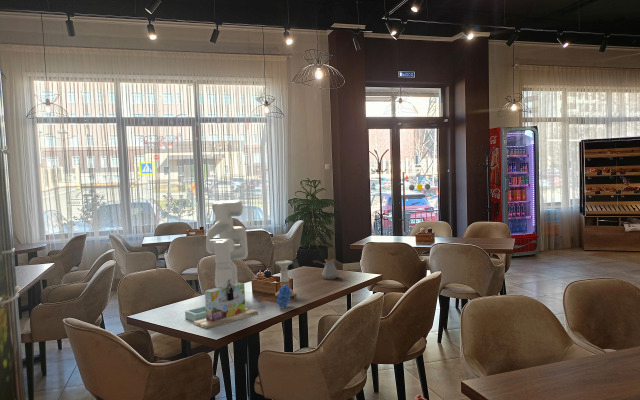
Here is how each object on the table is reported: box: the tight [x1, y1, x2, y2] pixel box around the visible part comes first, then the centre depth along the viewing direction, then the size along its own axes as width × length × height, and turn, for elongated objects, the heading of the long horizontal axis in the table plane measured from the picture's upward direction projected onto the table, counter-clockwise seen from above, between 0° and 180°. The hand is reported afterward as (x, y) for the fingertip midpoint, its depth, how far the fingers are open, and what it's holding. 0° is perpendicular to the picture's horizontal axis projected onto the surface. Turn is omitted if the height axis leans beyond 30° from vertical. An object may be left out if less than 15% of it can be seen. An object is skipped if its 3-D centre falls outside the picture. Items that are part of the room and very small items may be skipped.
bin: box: [184, 305, 206, 323], centre depth 242 cm, size 11×26×4 cm, turn 133°
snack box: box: [204, 282, 246, 322], centre depth 233 cm, size 21×6×15 cm, turn 140°
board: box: [193, 307, 259, 329], centre depth 233 cm, size 12×30×2 cm, turn 133°
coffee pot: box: [313, 258, 339, 280], centre depth 314 cm, size 21×12×15 cm, turn 137°
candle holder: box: [274, 259, 297, 298], centre depth 276 cm, size 12×12×20 cm
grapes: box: [276, 284, 292, 309], centre depth 250 cm, size 12×7×12 cm, turn 146°
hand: (225, 298), depth 233 cm, fingers open, 9 cm apart
